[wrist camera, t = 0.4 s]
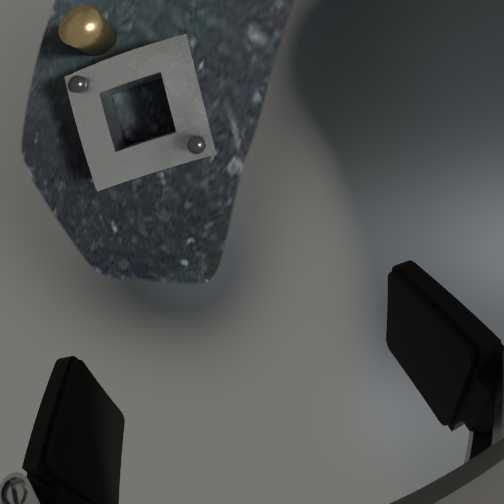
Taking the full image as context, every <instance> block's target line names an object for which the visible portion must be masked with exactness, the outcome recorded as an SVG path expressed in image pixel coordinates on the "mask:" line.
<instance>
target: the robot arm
mask: <svg viewBox="0 0 504 504" xmlns="http://www.w3.org/2000/svg"><path fill="white" fill-rule="evenodd" d="M386 341H387V345H388V348H389V350H390V351H391V352H392V354H393V355H394V357H395V358H396V359H397V361H398V362H399V364H400V365H401V366H402V368H403V369H404V371H405V372H406V373H407V375H408V376H409V378H410V379H411V381H412V382H413V383H414V385H415V386H416V388H417V389H418V391H419V392H420V393H421V395H422V396H423V398H424V399H425V401H426V402H427V404H428V405H429V407H430V408H431V410H432V411H433V412H434V414H435V415H436V417H437V418H438V420H439V421H440V423H441V424H442V425H444V426H446V425H448V426H449V428H450V429H451V431H453V430H455V429H457V428H458V427H460V426H462V425H463V424H465V425H466V426H467V428H468V429H469V431H470V433H469V439H468V445H467V451H466V456H465V461H464V464H463V465H462V466H460V467H458V468H457V469H455V470H453V471H452V472H450V473H448V474H446V475H445V476H443V477H441V478H439V479H437V480H436V481H434V482H432V483H430V484H428V485H426V486H425V487H423V488H421V489H419V490H417V491H415V492H413V493H411V494H409V495H407V496H405V497H403V498H400V499H398V500H396V501H394V502H392V503H390V504H504V346H503V345H502V344H501V340H500V339H499V338H498V337H497V336H496V335H495V334H494V333H493V332H492V331H491V330H490V329H488V327H486V326H485V325H484V324H483V323H482V322H481V321H480V320H479V319H478V318H477V317H476V316H475V315H474V314H473V313H471V312H470V311H469V310H468V309H467V308H466V307H465V306H464V305H463V304H462V303H461V302H459V301H458V300H457V299H456V298H455V297H454V296H453V295H452V294H450V293H449V292H448V291H447V290H446V289H445V288H444V287H443V286H442V285H440V284H439V283H438V282H437V281H436V280H435V279H433V278H432V277H431V276H430V275H429V274H428V273H426V272H425V271H424V270H423V269H422V268H420V267H419V266H418V265H417V264H416V263H414V262H413V261H406V262H404V263H401V264H398V265H395V266H394V267H393V268H392V272H390V273H389V275H388V310H387V334H386ZM123 432H124V416H123V414H122V412H121V411H120V410H119V408H118V407H117V406H116V405H115V404H114V403H113V401H112V400H111V399H110V397H109V396H108V395H107V394H106V392H105V391H104V389H103V388H102V387H101V386H100V384H99V383H98V382H97V380H96V379H95V378H94V376H93V375H92V373H91V372H90V371H89V369H88V368H87V366H86V365H85V364H84V362H83V361H82V360H78V359H77V358H76V357H75V356H71V357H65V358H60V359H58V360H57V361H56V363H55V366H54V368H53V371H52V373H51V376H50V379H49V382H48V385H47V387H46V390H45V393H44V396H43V399H42V402H41V405H40V408H39V411H38V414H37V417H36V420H35V423H34V427H33V430H32V433H31V437H30V440H29V444H28V447H27V451H26V455H25V459H24V463H23V467H22V468H23V469H24V470H25V471H27V477H26V476H25V475H23V474H22V473H12V474H10V475H8V476H6V477H5V478H4V480H3V481H2V482H1V484H0V504H118V503H119V483H120V468H121V453H122V443H123Z"/></svg>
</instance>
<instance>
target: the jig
mask: <svg viewBox="0 0 504 504" xmlns="http://www.w3.org/2000/svg"><path fill="white" fill-rule="evenodd" d="M64 78H65V82H66V86H67V91H68V95H69V99H70V103H71V107H72V111H73V114H74V118H75V122H76V125H77V129H78V133H79V136H80V139H81V143H82V146H83V150H84V153H85V156H86V159H87V162H88V166H89V169H90V172H91V175H92V178H93V181H94V184H95V187H96V190H97V191H100V190H103V189H105V188H108V187H111V186H114V185H117V184H120V183H123V182H126V181H129V180H132V179H135V178H138V177H141V176H144V175H147V174H150V173H153V172H156V171H160V170H163V169H166V168H170V167H173V166H176V165H180V164H183V163H187V162H190V161H194V160H197V159H201V158H204V157H208V156H212V155H216V152H215V148H214V144H213V140H212V136H211V132H210V128H209V124H208V120H207V116H206V112H205V108H204V104H203V100H202V96H201V92H200V88H199V84H198V80H197V76H196V72H195V68H194V64H193V59H192V55H191V51H190V47H189V43H188V39H187V35H186V34H185V35H181V36H177V37H173V38H169V39H166V40H162V41H159V42H156V43H152V44H149V45H146V46H143V47H140V48H136V49H133V50H131V51H128V52H125V53H122V54H119V55H116V56H114V57H111V58H108V59H106V60H103V61H101V62H98V63H96V64H93V65H91V66H88V67H86V68H84V69H81V70H79V71H77V72H74V73H72V74H70V75H68V76H66V77H64ZM161 78H162V79H163V83H164V87H165V90H166V94H167V98H168V102H169V106H170V110H171V114H172V118H173V121H174V125H175V129H176V130H175V131H172V132H168V133H165V134H162V135H158V136H155V137H152V138H149V139H146V140H143V141H140V142H137V143H134V144H131V145H128V146H126V144H125V141H124V137H123V134H122V130H121V127H120V123H119V120H118V116H117V112H116V108H115V105H114V101H113V97H112V95H113V94H116V93H119V92H121V91H124V90H127V89H130V88H133V87H136V86H139V85H142V84H145V83H148V82H151V81H154V80H158V79H161Z"/></svg>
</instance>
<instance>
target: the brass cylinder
mask: <svg viewBox="0 0 504 504" xmlns="http://www.w3.org/2000/svg"><path fill="white" fill-rule="evenodd" d="M59 36H60V39H61V40H62V41H63V42H64V43H66V44H68V45H70V46H72V47H74V48H77V49H79V50H81V51H83V52H85V53H87V54H90V55H93V56H97V55H102V54H104V53H106V52H107V51H109V50H110V49H111V48H112V46H113V45H114V43H115V41H116V37H117V34H116V30H115V28H114V27H113V26H112V25H111V24H110V23H109V22H108V21H107V20H106V19H105V18H104V17H103V16H102V15H101V14H100V13H99V12H98V11H97V10H96V9H95V8H93V7H91V6H87V5H83V6H78V7H75V8H73V9H72V10H70V11H69V12H68V13H67V14H66V15H65V16H64V17H63V19H62V20H61V22H60V25H59Z"/></svg>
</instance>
